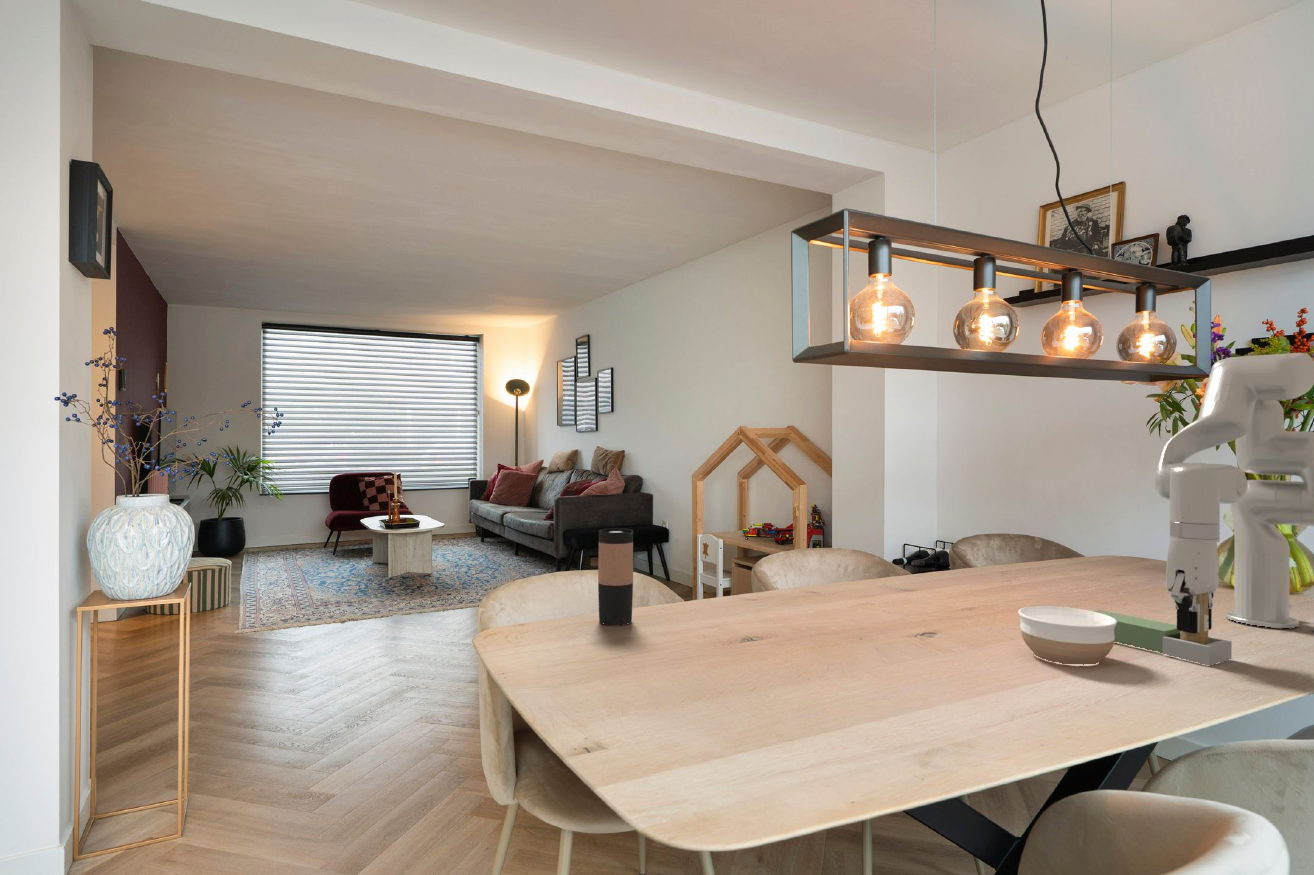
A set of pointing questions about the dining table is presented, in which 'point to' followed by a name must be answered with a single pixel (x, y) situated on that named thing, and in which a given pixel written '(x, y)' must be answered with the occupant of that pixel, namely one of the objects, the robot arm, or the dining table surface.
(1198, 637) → the sprinkles bottle
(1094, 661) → the bowl
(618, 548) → the travel mug
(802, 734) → the dining table surface
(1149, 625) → the sliding drawer box
